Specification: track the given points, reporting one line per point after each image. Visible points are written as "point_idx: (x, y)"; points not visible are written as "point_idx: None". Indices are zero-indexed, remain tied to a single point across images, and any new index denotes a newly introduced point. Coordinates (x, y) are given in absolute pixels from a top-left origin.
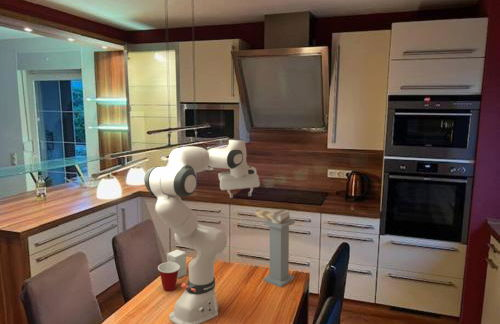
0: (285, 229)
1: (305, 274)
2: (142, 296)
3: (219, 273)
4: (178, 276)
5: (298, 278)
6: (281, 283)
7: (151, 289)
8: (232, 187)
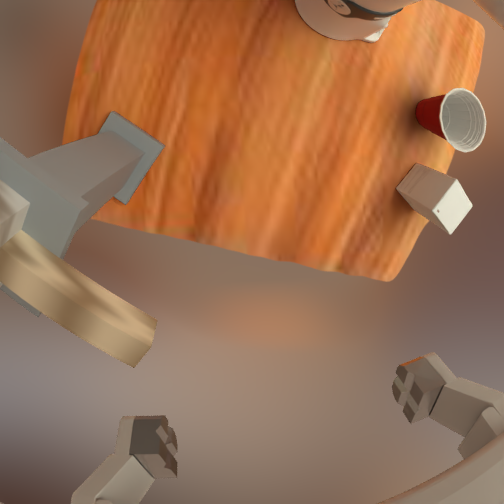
0: None
1: None
2: None
3: (308, 191)
4: (415, 167)
5: None
6: (110, 119)
7: None
8: (499, 475)
